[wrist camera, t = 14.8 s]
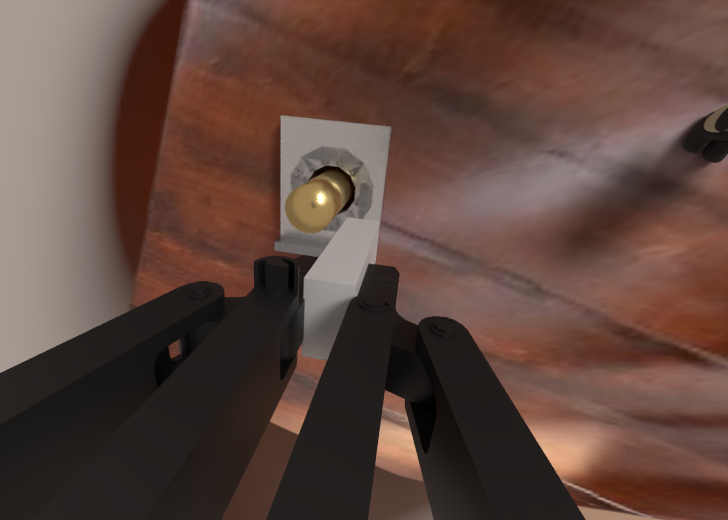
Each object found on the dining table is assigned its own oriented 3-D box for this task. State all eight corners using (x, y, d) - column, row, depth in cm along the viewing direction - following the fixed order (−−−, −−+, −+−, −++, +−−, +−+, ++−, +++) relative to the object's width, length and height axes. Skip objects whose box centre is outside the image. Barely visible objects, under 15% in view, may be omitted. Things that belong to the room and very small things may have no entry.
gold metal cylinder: (318, 166, 42) (285, 183, 31) (354, 171, 41) (333, 189, 31) (316, 203, 43) (284, 230, 33) (351, 207, 43) (330, 236, 33)
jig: (287, 115, 40) (273, 115, 36) (392, 126, 39) (389, 127, 35) (286, 239, 46) (274, 250, 42) (377, 252, 45) (373, 264, 41)
